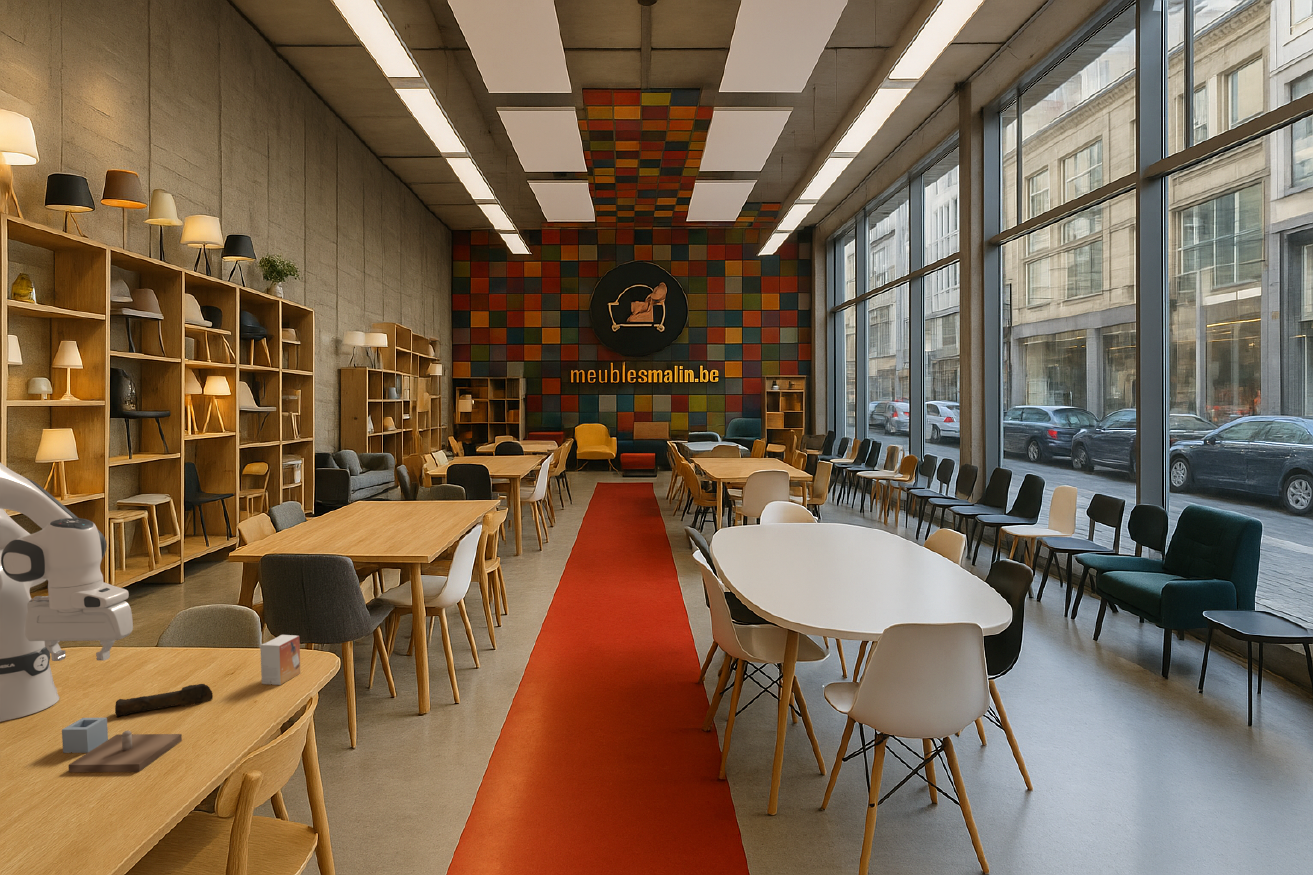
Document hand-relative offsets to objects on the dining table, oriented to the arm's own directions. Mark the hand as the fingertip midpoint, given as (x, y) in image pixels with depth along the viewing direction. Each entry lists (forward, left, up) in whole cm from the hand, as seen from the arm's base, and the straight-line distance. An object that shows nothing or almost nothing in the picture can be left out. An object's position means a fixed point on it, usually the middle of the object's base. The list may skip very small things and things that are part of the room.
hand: (81, 659), depth 142 cm
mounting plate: (+12, -4, -19) cm, 23 cm away
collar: (0, 0, -19) cm, 19 cm away
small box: (+23, +34, -19) cm, 45 cm away
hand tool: (+4, +18, -19) cm, 27 cm away
